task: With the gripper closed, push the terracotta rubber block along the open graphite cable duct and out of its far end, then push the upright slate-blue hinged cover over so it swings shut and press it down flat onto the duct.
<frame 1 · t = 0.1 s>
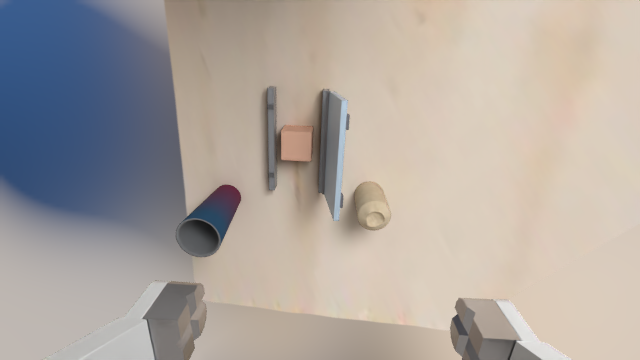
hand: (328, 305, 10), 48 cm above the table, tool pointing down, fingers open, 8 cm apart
cup: (228, 196, 62), on the table
duct: (298, 139, 58), on the table
block: (298, 139, 58), on the table
cover: (334, 154, 50), point 8 cm above the table, hinge at 100.0°
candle: (368, 194, 61), on the table
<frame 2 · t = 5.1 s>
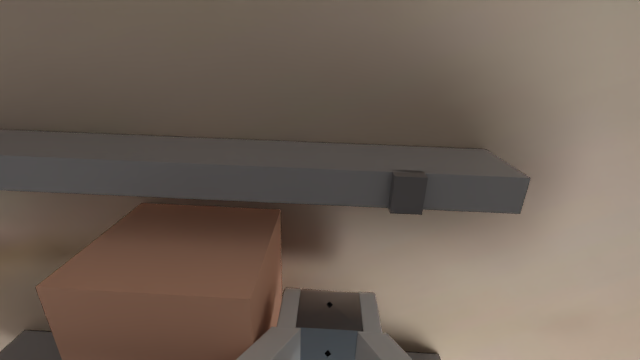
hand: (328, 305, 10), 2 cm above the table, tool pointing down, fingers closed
duct: (220, 264, 12), on the table
block: (217, 263, 12), on the table, touching gripper
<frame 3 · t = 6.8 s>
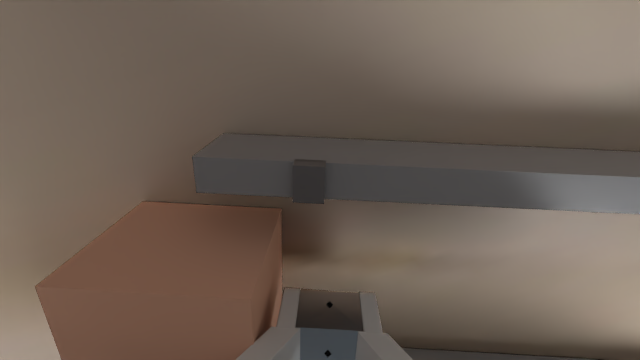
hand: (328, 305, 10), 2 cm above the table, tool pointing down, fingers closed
duct: (470, 273, 12), on the table
block: (217, 263, 12), on the table, touching gripper
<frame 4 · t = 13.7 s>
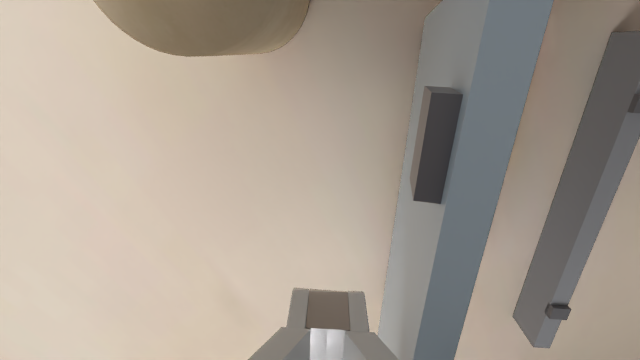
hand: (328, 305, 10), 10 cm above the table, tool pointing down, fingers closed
duct: (485, 195, 19), on the table
cover: (406, 270, 12), point 8 cm above the table, hinge at 99.2°, touching gripper
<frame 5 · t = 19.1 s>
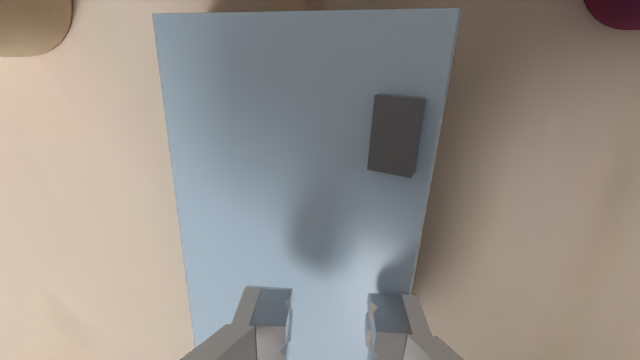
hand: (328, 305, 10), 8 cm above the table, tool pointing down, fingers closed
cover: (275, 267, 13), point 5 cm above the table, hinge at 23.6°, touching gripper
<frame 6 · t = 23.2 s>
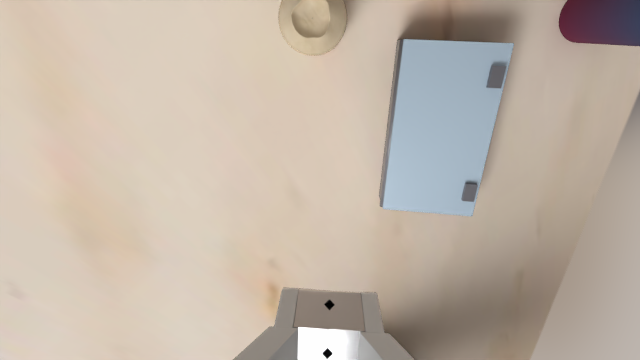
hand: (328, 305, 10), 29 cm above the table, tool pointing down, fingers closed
cup: (583, 15, 33), on the table
duct: (430, 127, 37), on the table
cover: (438, 134, 34), point 4 cm above the table, hinge at 4.0°
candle: (317, 26, 34), on the table
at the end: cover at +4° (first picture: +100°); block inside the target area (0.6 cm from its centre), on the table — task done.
